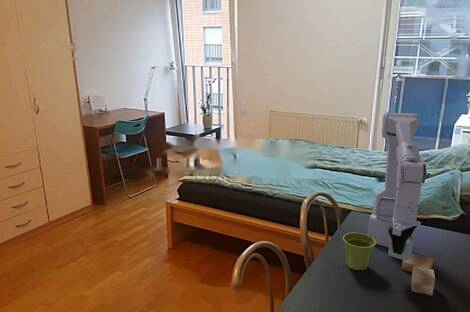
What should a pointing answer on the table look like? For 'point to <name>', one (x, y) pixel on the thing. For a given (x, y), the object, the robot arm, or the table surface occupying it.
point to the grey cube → (406, 251)
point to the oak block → (416, 262)
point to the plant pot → (358, 250)
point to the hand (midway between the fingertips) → (400, 249)
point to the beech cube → (423, 280)
